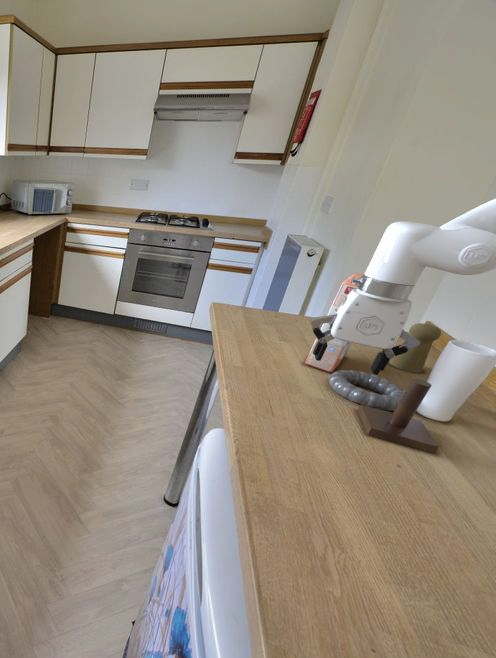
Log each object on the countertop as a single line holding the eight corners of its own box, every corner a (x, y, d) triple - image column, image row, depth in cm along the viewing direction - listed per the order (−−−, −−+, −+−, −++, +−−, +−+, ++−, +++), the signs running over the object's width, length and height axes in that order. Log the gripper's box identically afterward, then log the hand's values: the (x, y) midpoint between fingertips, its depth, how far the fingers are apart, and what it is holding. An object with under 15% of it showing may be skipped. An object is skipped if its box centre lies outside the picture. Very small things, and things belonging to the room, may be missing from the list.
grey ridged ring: (395, 391, 89) (402, 379, 88) (414, 421, 79) (422, 408, 78) (322, 373, 95) (327, 362, 94) (331, 399, 85) (337, 387, 83)
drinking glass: (400, 408, 83) (441, 341, 76) (418, 402, 85) (458, 337, 79) (444, 428, 77) (492, 358, 71) (461, 421, 80) (509, 353, 73)
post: (417, 426, 77) (447, 379, 73) (434, 453, 70) (468, 403, 66) (357, 410, 81) (382, 364, 77) (367, 434, 74) (395, 385, 70)
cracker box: (333, 374, 95) (376, 288, 85) (303, 364, 99) (340, 281, 89) (346, 357, 103) (386, 277, 94) (317, 348, 107) (353, 271, 98)
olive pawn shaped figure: (387, 358, 104) (408, 318, 99) (419, 365, 101) (443, 325, 96) (390, 366, 100) (413, 325, 95) (424, 375, 97) (449, 333, 92)
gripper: (332, 283, 80) (297, 359, 88) (452, 304, 72) (402, 385, 80) (326, 275, 86) (294, 347, 93) (437, 293, 78) (392, 370, 86)
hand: (344, 364), depth 87 cm, fingers open, 9 cm apart
